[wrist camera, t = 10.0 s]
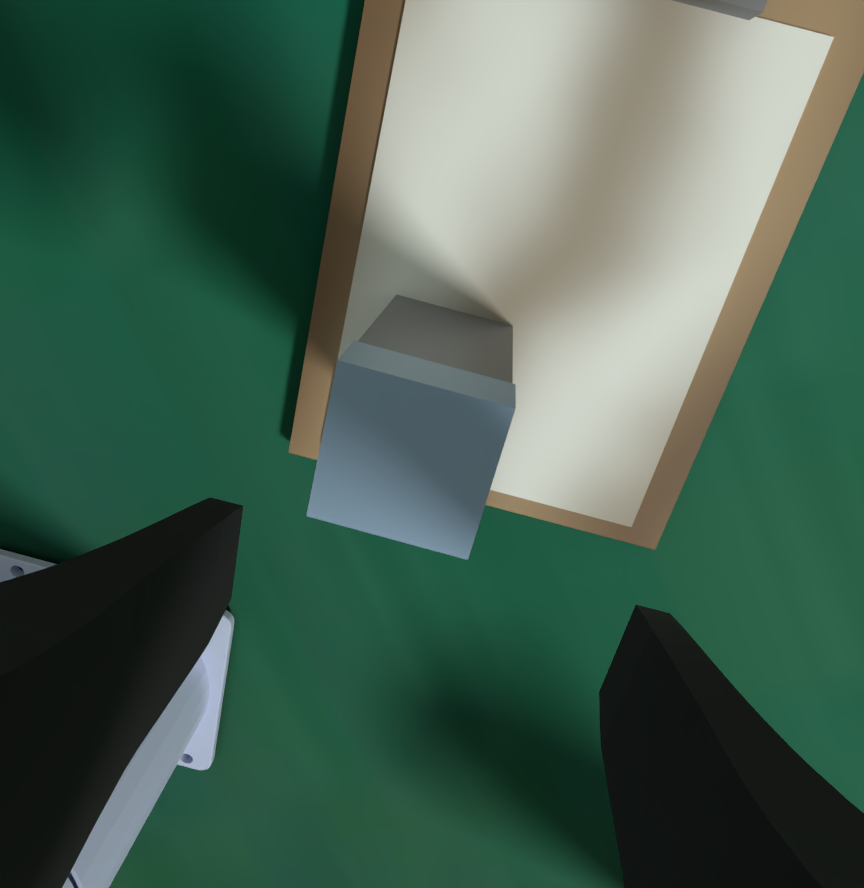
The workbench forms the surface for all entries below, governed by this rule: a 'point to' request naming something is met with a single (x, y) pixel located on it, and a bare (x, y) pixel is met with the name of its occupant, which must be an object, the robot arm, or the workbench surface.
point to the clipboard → (582, 216)
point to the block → (416, 426)
